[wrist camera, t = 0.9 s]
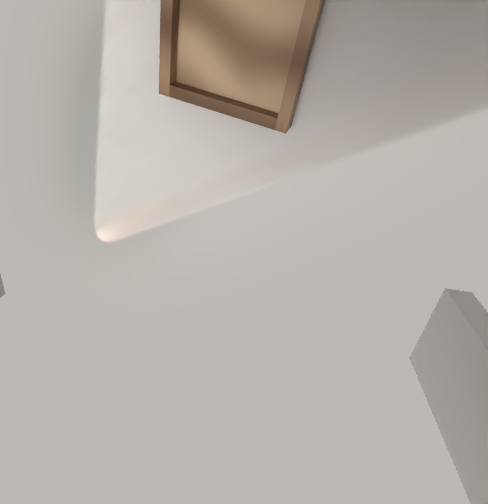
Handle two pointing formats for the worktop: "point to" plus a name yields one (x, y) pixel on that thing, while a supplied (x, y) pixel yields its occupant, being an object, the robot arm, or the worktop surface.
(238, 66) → the tray
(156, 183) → the worktop surface
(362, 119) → the worktop surface
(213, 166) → the worktop surface
